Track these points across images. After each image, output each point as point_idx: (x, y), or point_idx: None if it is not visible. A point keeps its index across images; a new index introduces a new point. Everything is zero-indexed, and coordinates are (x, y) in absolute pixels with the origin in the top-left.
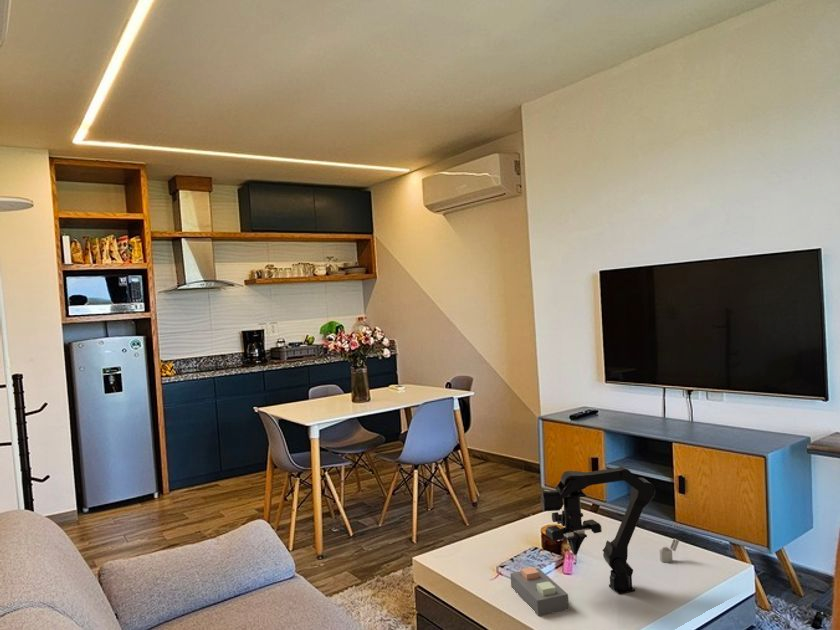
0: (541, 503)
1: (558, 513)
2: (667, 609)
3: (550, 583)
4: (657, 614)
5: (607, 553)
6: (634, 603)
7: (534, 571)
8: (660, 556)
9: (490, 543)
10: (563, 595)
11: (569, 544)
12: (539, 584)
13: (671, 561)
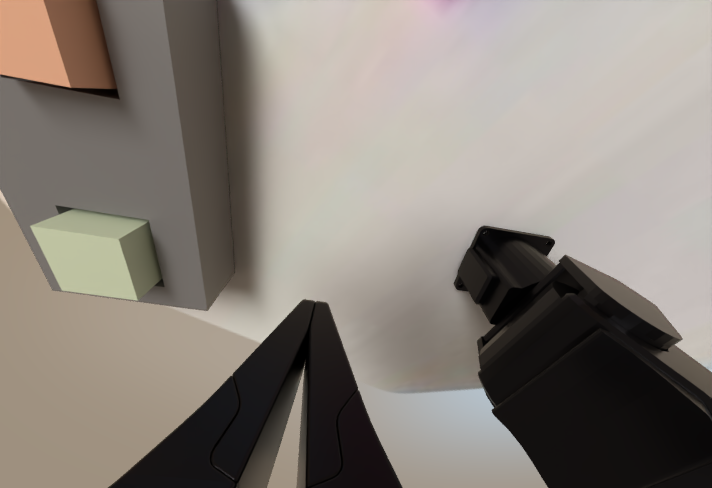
0: None
1: None
2: (477, 382)
3: (121, 262)
4: (436, 384)
5: (542, 401)
6: (440, 335)
7: (30, 53)
8: None
9: None
10: (185, 307)
11: (230, 382)
12: (50, 240)
13: None
